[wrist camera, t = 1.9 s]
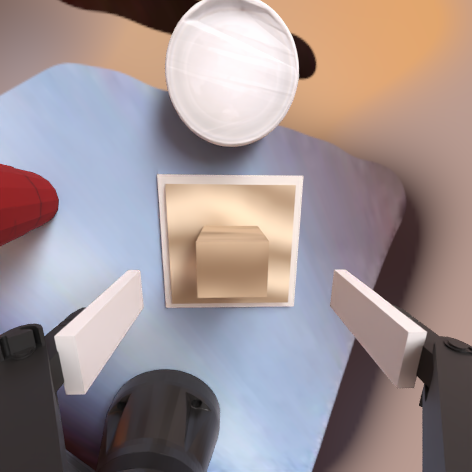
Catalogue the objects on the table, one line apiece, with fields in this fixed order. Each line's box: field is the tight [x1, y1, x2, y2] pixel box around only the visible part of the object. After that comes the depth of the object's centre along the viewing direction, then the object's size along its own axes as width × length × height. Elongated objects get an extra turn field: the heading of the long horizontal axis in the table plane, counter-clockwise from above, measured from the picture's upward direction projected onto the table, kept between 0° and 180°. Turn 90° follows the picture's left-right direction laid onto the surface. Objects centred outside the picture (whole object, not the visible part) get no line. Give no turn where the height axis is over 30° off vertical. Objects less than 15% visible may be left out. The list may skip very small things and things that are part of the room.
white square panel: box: [157, 174, 303, 308], centre depth 27 cm, size 16×16×1 cm
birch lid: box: [165, 184, 296, 304], centre depth 23 cm, size 14×14×8 cm
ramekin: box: [165, 0, 299, 147], centre depth 21 cm, size 11×11×5 cm
